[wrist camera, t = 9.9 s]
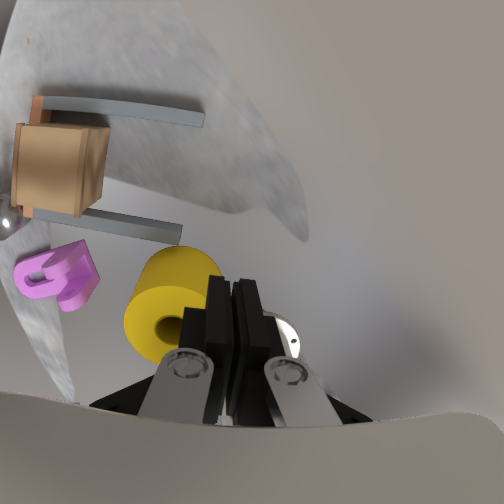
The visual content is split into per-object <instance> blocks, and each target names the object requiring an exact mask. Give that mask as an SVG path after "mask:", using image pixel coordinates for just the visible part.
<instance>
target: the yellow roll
mask: <svg viewBox="0 0 504 504" xmlns="http://www.w3.org/2000/svg"><path fill="white" fill-rule="evenodd" d="M209 275H216V276H221V273H220V271H219V268H218V266H217V265H216V263H215V262H214V261H213V260H212V259H211V258H210V257H209V256H208V255H206V254H205V253H203V252H201V251H199V250H197V249H195V248H191V247H187V246H172V247H168V248H165V249H162V250H160V251H158V252H157V253H155V254H154V255H153V256H152V257H151V258H150V259H149V260H148V262H147V263H146V265H145V267H144V269H143V271H142V274H141V276H140V278H139V280H138V283H137V285H136V287H135V290H134V292H133V294H132V297H131V299H130V301H129V304H128V306H127V309H126V311H125V315H124V330H125V334H126V336H127V338H128V340H129V342H130V344H131V345H132V346H133V348H134V349H135V350H136V351H137V352H138V353H139V354H141V355H142V356H143V357H145V358H146V359H148V360H150V361H152V362H154V363H156V364H160V362H161V360H162V358H163V356H164V355H165V354H166V353H167V352H169V351H171V350H174V349H177V348H178V345H179V338H180V332H181V325H182V319H183V313H184V307H192V308H200V309H205V304H206V296H207V288H208V280H209Z"/></svg>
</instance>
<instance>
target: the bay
mask: <svg viewBox="0 0 504 504" xmlns="http://www.w3.org/2000/svg"><path fill="white" fill-rule="evenodd" d="M52 110H65V111H79V112H90V113H101V114H110V115H119V116H127V117H135V118H142V119H149V120H156V121H163V122H169V123H175V124H181V125H187V126H193V127H198V128H202V127H203V122H204V118H205V113H200V112H194V111H189V110H183V109H177V108H170V107H164V106H157V105H150V104H142V103H134V102H126V101H116V100H106V99H95V98H81V97H64V96H33V102H32V108H31V114H30V121H29V124H35V123H44V122H50V119H51V113H52ZM23 216H24V217H29V218H34V219H39V220H44V221H50V222H55V223H60V224H66V225H71V226H76V227H81V228H86V229H92V230H97V231H103V232H108V233H113V234H118V235H124V236H130V237H135V238H140V239H145V240H151V241H156V242H162V243H167V244H172V245H179V241H180V238H181V232H182V226H183V225H180V224H175V223H169V222H163V221H158V220H153V219H147V218H142V217H136V216H130V215H125V214H119V213H113V212H107V211H102V210H97V209H91V208H87V209H86V210H84V211H83V212H82V216H81V217H80V218H74V217H73V216H74V215H73V214H67V213H61V212H56V211H50V210H44V209H39V208H33V207H27V206H23Z"/></svg>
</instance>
